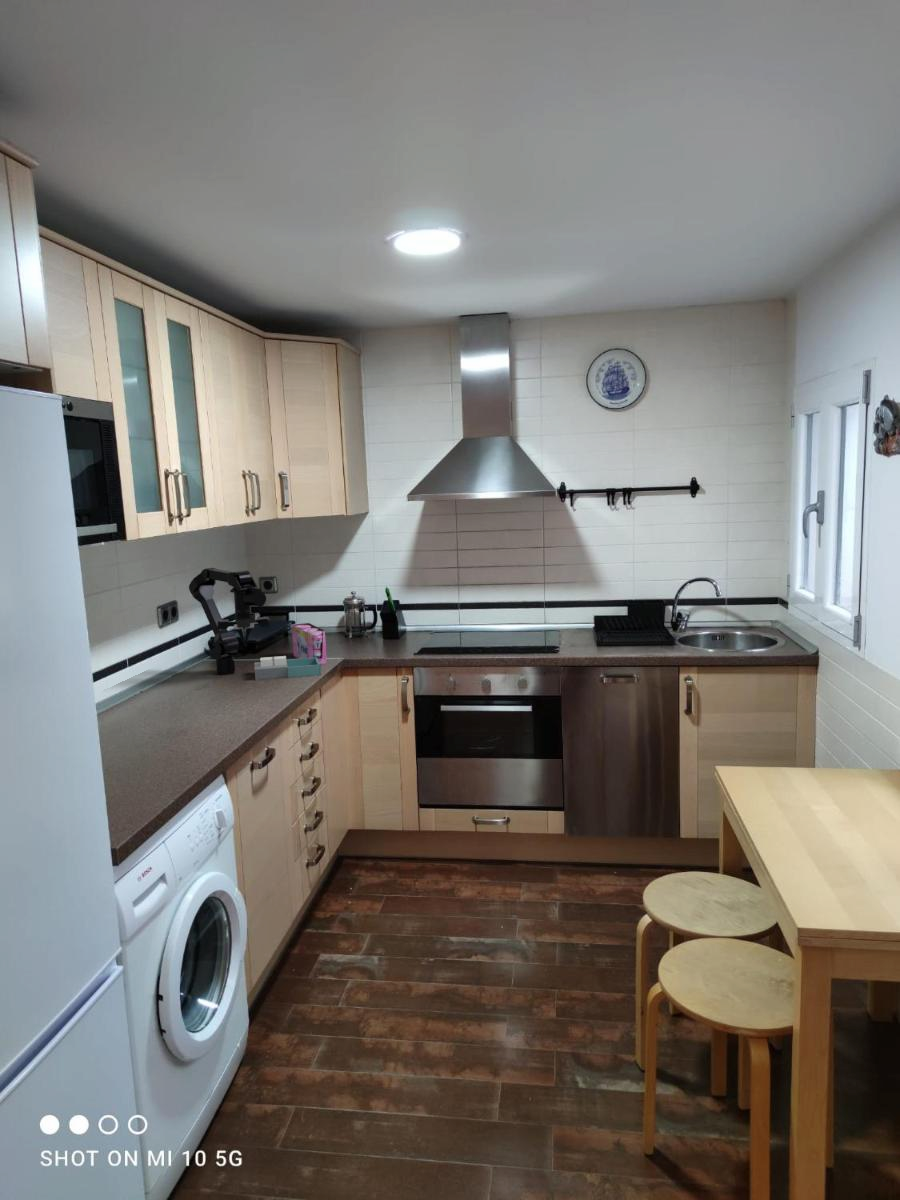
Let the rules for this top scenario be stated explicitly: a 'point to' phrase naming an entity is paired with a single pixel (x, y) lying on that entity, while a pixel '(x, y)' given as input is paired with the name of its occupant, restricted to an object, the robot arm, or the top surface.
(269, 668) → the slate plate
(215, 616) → the robot arm
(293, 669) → the tray
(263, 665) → the tile
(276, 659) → the tile
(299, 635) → the gum box
